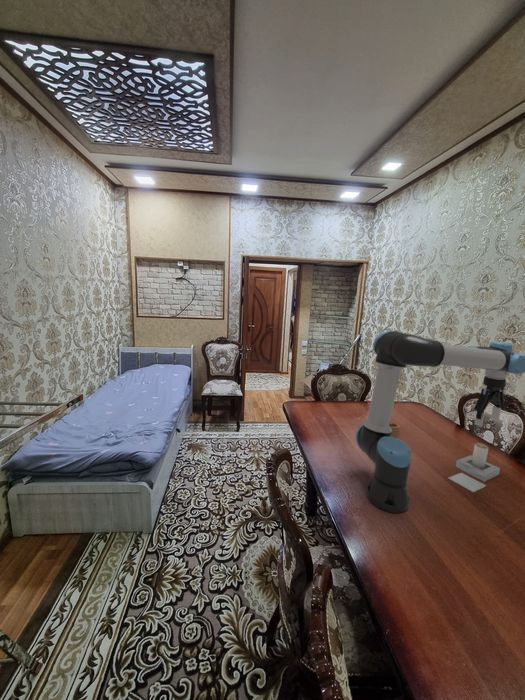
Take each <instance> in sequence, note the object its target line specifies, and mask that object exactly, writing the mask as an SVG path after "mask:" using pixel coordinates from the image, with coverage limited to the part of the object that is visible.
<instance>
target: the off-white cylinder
mask: <svg viewBox="0 0 525 700" xmlns="http://www.w3.org/2000/svg"><path fill="white" fill-rule="evenodd" d="M489 448H490V447H489V446H488V445H486V444H485V443H482V442H476V443H475V444H474V447H473V452H472V456H473V457H472V462H471V465H473V466H475V467H477V468H479V469H482V470H484V469H485V464H486V462H487V459H488V453H489Z"/></svg>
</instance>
